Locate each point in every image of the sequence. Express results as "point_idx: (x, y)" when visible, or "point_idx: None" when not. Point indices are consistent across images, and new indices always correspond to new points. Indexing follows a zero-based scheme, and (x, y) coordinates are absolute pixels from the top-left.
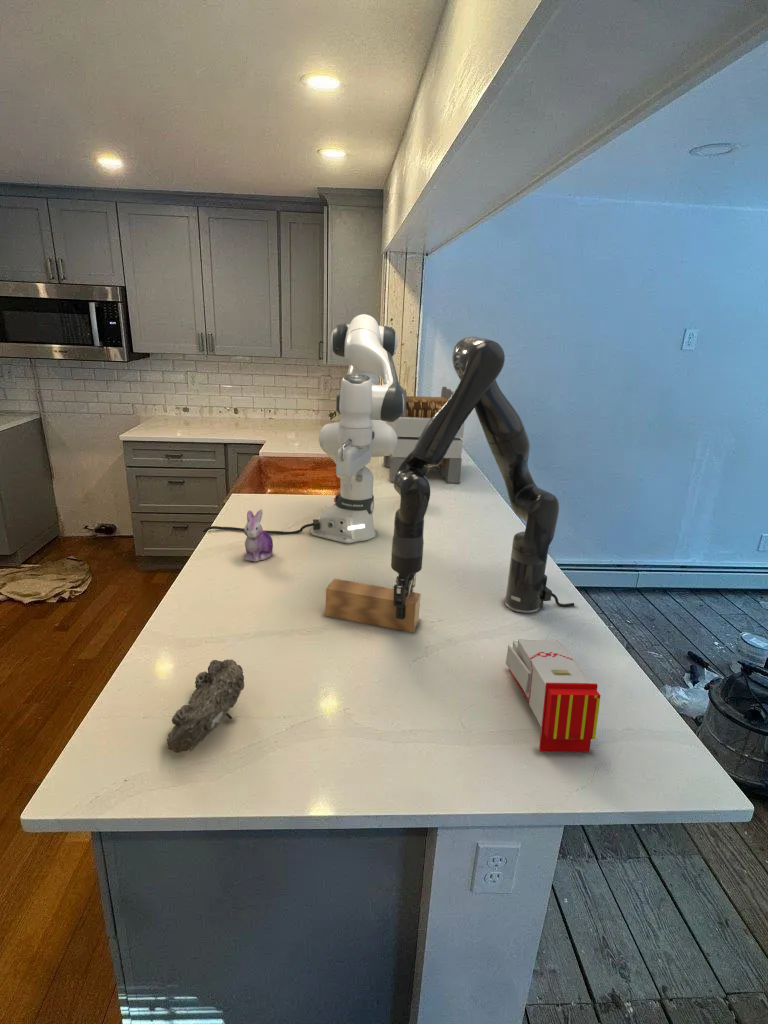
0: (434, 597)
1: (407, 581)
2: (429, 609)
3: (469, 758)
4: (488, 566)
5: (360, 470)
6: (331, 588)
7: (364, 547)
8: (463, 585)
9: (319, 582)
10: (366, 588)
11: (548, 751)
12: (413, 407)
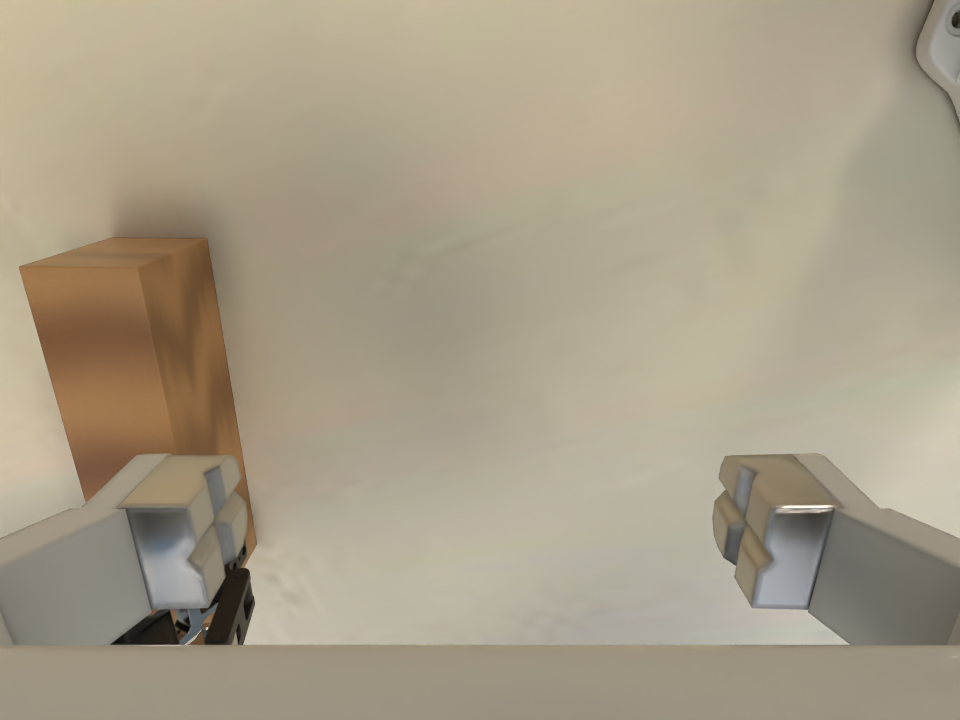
0: (439, 561)
1: None
2: (347, 560)
3: None
4: None
5: (930, 639)
6: (34, 292)
7: (873, 171)
8: (567, 628)
9: (376, 86)
10: (130, 437)
11: None
12: None
